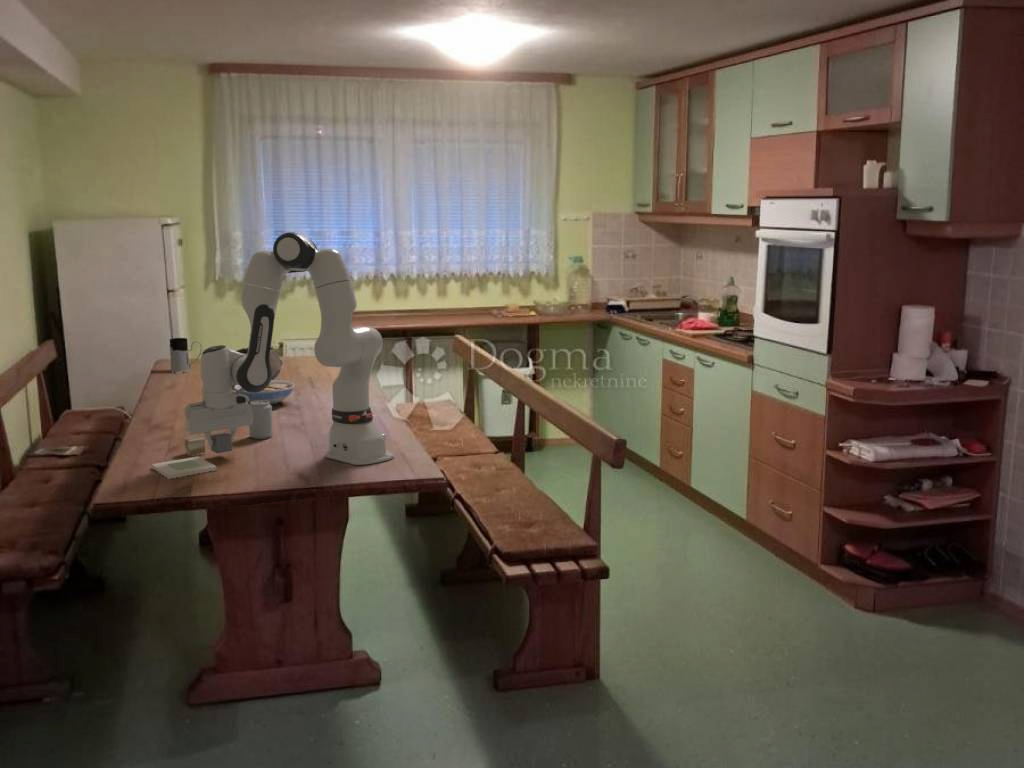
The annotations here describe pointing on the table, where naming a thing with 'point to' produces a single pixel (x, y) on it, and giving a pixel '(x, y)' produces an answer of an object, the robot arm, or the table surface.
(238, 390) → the ramen bowl
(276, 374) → the clay pot
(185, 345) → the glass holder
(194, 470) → the build board
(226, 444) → the grey block
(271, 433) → the can
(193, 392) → the table surface
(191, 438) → the birch block
